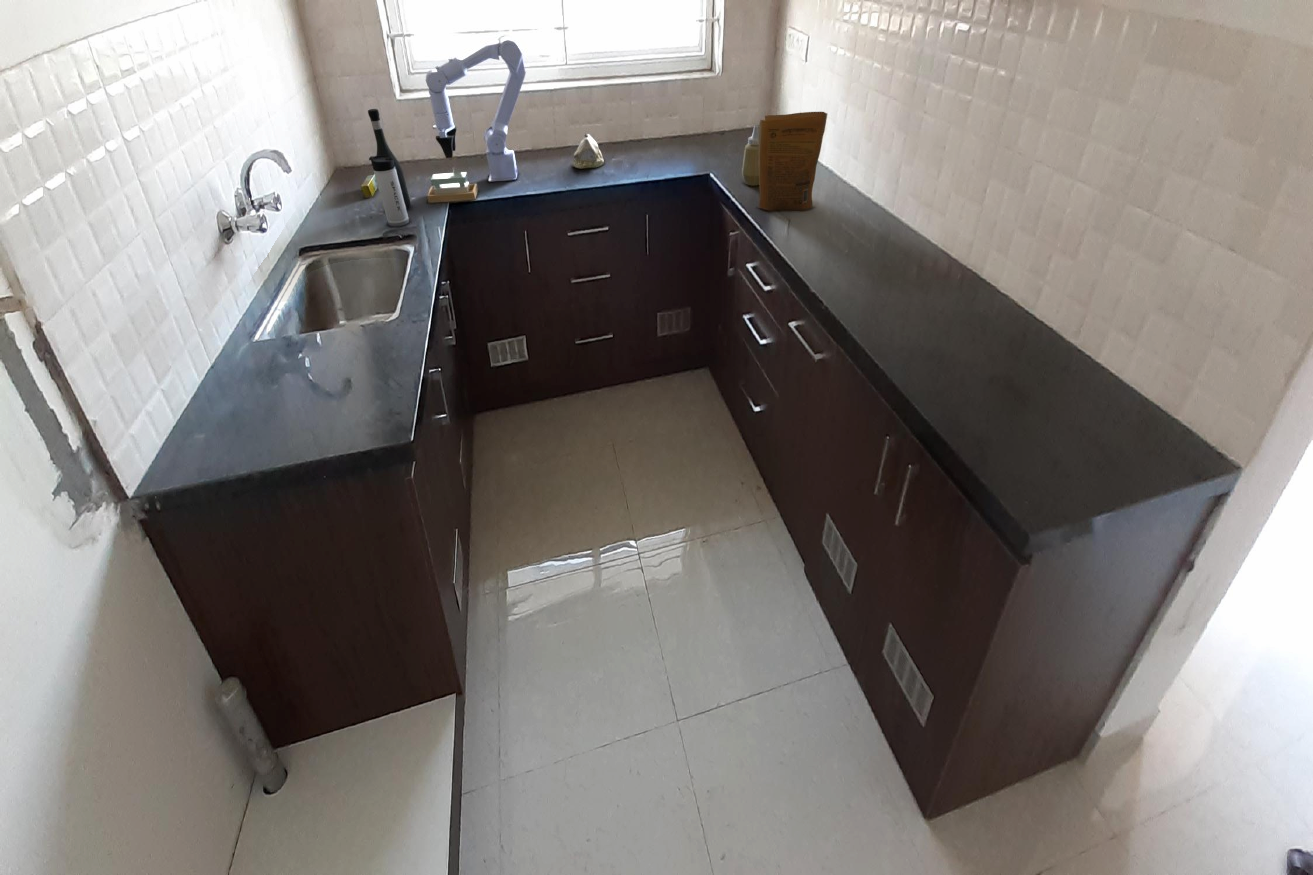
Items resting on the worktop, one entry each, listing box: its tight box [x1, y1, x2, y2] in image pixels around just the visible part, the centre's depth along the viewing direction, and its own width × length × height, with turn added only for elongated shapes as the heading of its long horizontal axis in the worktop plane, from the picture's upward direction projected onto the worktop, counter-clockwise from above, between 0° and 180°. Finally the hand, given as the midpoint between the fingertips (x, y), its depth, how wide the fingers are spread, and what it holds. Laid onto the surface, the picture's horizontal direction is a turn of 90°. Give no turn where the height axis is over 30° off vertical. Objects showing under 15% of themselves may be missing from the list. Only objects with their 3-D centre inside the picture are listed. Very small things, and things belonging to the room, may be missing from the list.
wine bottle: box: [367, 108, 412, 211], centre depth 220 cm, size 8×8×30 cm
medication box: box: [360, 173, 378, 198], centre depth 242 cm, size 12×3×4 cm, turn 7°
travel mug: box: [368, 155, 410, 228], centre depth 214 cm, size 6×7×20 cm
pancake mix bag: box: [758, 111, 828, 212], centre depth 209 cm, size 7×19×28 cm, turn 86°
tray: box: [426, 183, 479, 204], centre depth 236 cm, size 15×9×2 cm, turn 95°
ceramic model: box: [572, 133, 605, 169], centre depth 256 cm, size 14×11×10 cm
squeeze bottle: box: [741, 125, 759, 187], centre depth 231 cm, size 8×8×18 cm
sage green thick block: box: [430, 171, 469, 189], centre depth 234 cm, size 11×5×3 cm, turn 95°
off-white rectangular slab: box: [433, 181, 470, 195], centre depth 236 cm, size 11×5×3 cm, turn 95°
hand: (450, 154), depth 241 cm, fingers open, 7 cm apart
